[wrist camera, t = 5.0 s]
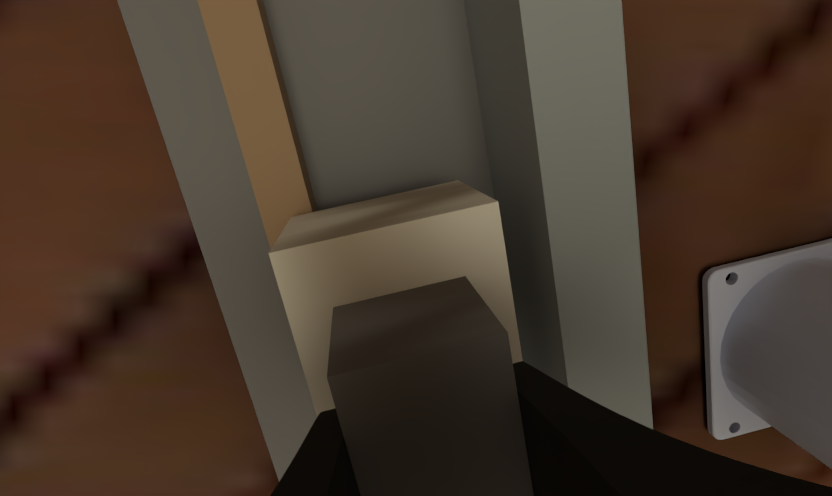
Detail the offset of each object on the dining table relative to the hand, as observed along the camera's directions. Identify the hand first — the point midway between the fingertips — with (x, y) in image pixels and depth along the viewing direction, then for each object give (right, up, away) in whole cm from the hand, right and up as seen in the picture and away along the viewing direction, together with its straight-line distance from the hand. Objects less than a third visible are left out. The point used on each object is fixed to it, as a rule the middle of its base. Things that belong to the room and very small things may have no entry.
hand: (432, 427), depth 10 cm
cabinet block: (-1, +1, +5) cm, 6 cm away
